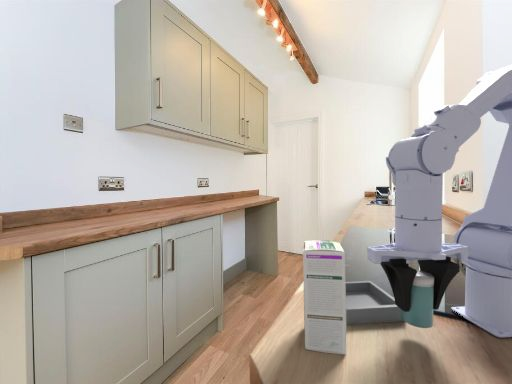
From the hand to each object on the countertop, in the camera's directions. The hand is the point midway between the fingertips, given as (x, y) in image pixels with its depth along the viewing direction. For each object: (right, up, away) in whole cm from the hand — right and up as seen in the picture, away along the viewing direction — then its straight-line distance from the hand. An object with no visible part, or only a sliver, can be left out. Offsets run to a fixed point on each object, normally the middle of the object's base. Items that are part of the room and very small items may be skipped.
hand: (416, 307), depth 35 cm
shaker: (0, -2, 0) cm, 2 cm away
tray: (-4, -4, +9) cm, 11 cm away
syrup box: (-14, -5, 0) cm, 15 cm away
